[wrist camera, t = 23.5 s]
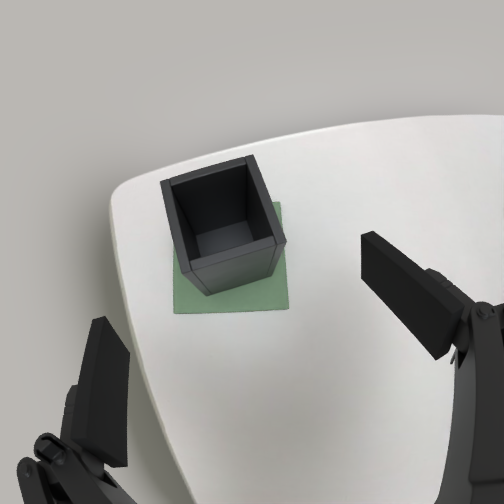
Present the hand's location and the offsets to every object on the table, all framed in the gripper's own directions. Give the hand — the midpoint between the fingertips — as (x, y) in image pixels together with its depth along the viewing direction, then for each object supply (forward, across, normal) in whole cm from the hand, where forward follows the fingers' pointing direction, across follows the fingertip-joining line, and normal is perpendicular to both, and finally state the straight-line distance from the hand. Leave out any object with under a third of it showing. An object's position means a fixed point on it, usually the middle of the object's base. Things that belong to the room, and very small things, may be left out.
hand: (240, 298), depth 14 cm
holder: (+12, 0, -4) cm, 13 cm away
